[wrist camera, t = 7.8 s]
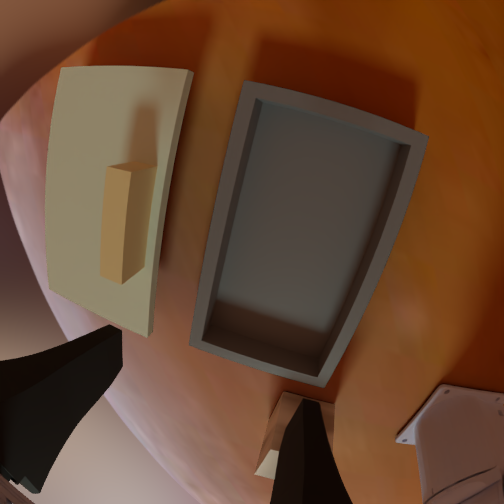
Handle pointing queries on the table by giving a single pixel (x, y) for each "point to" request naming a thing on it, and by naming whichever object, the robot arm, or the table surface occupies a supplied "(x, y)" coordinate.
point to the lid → (111, 186)
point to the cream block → (277, 428)
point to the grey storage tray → (300, 230)
